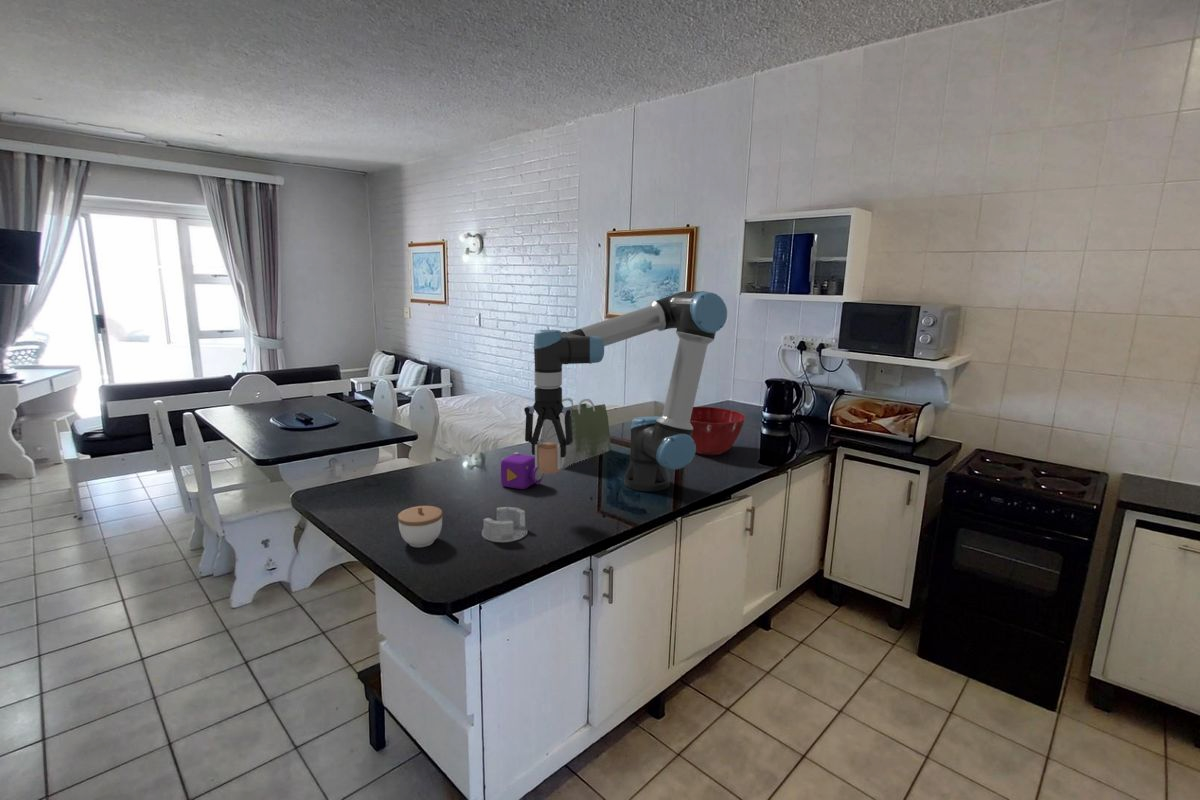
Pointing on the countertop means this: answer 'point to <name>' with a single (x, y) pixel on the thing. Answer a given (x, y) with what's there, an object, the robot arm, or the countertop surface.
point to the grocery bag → (581, 432)
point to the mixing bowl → (715, 429)
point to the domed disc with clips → (505, 526)
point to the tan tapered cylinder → (547, 458)
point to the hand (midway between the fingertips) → (549, 466)
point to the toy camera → (519, 471)
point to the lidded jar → (420, 525)
